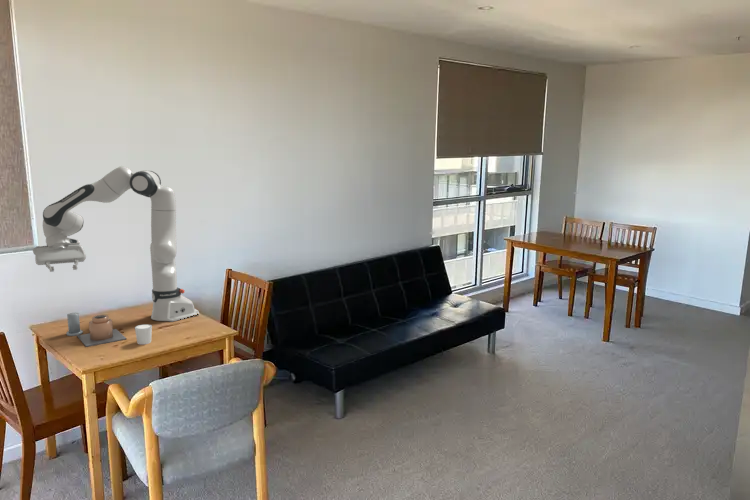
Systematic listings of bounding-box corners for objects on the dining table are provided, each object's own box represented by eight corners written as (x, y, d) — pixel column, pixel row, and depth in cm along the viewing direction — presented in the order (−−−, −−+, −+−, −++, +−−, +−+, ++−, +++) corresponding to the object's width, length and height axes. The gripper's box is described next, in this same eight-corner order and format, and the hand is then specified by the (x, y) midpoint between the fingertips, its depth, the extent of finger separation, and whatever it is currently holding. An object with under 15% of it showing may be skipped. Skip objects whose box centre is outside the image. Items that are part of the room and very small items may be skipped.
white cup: (146, 345, 240) (145, 329, 239) (132, 344, 241) (131, 328, 240) (156, 340, 246) (155, 324, 245) (141, 338, 248) (140, 323, 247)
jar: (116, 329, 259) (114, 309, 257) (126, 339, 247) (125, 318, 245) (77, 336, 249) (75, 315, 247) (86, 347, 237) (84, 324, 235)
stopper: (80, 330, 257) (79, 311, 256) (84, 334, 252) (82, 314, 251) (65, 333, 253) (63, 313, 252) (68, 337, 248) (66, 317, 247)
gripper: (32, 242, 254) (38, 268, 248) (82, 239, 267) (89, 264, 261) (31, 250, 258) (36, 276, 252) (80, 247, 271) (86, 271, 265)
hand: (63, 270), depth 257 cm, fingers open, 8 cm apart
